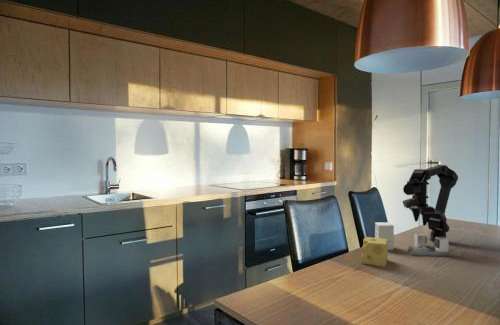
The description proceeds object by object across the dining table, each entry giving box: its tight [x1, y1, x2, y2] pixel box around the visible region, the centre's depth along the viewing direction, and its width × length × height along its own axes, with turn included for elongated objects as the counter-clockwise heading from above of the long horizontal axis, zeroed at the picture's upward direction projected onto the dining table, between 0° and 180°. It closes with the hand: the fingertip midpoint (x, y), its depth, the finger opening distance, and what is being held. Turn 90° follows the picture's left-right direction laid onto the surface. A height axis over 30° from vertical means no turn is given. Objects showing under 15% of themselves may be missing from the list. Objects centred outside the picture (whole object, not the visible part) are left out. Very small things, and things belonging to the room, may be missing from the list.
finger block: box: [413, 233, 428, 248], centre depth 171 cm, size 5×4×6 cm
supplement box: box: [374, 221, 395, 251], centre depth 168 cm, size 7×7×13 cm
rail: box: [407, 237, 451, 257], centre depth 158 cm, size 18×4×8 cm, turn 87°
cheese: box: [360, 236, 389, 268], centre depth 147 cm, size 10×11×10 cm
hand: (420, 223), depth 171 cm, fingers open, 9 cm apart
